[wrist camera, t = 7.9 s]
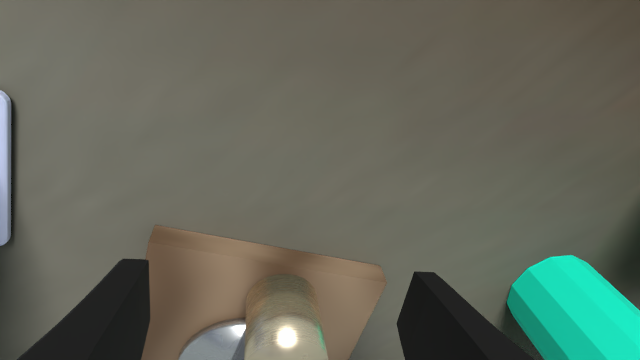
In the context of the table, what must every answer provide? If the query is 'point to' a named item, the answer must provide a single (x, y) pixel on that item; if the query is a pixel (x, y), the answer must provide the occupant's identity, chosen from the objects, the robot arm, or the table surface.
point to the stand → (247, 288)
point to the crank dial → (266, 326)
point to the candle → (574, 312)
